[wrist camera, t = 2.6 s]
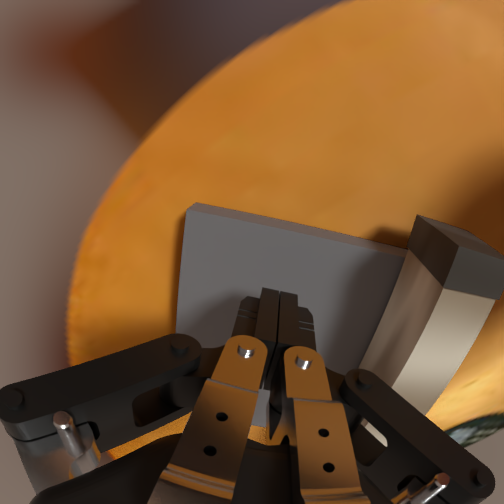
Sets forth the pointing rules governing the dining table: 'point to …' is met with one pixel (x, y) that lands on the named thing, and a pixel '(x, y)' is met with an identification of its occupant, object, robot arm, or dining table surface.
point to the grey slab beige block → (283, 281)
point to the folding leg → (433, 312)
